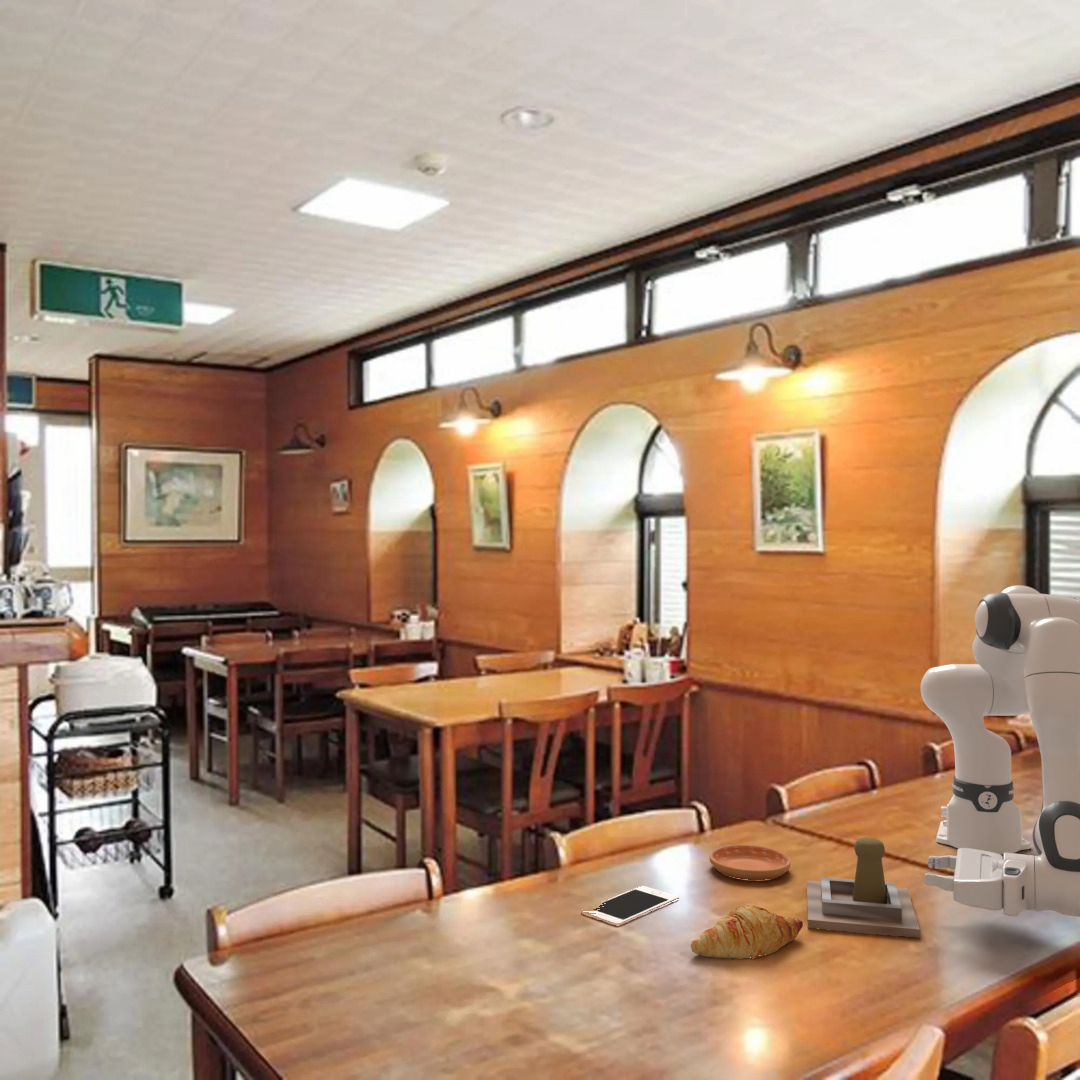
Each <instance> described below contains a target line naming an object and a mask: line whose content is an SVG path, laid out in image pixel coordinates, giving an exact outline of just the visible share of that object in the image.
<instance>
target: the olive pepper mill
mask: <svg viewBox="0 0 1080 1080" xmlns="http://www.w3.org/2000/svg"><path fill="white" fill-rule="evenodd" d="M853 847H854V852H855V855H856V856H857V861H856V866H855V867H856V869H855V874H854V875H855V876H854V880H855V882H854V890H853V901H855V902H866V903H879V904H887V903H888V900H887V893H886V886H885V882H886V880H885V873H884V866H883V858H884V856H885V854H886V852H885V851H886V847H885V844H884V842H883V841H882V840H880V839H878V838H875V837H865V836H864V837H860V838H858V839H857V840H855V842H854V846H853Z"/></svg>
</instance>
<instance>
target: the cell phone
mask: <svg viewBox="0 0 1080 1080" xmlns="http://www.w3.org/2000/svg"><path fill="white" fill-rule="evenodd" d="M640 886H641V887H640ZM640 886H637V887H638V888H637V887H635V888H632V889H633V890H632V889H630V890H631V891H630V890H627V891H625V892H623V893H621V894H618V895H617V894H616V895H615V896H613V897H611V898H608V901H605V900H604V901H605V902H603V901H602V902H603V903H602V904H603V905H600V906H599V907H600V908H596V909H592V910H597V909H600V910H598V911H583V912H589V913H596V914H591V915H594V916H597V917H599V918H601V919H604V920H607V921H610V922H612V923H615V924H619V923H622V922H625V921H627V920H629V919H632V918H634V917H636V916H639V915H641V914H643V913H646V912H648V911H651V910H653V909H655V908H658V907H660V906H662V905H665V904H667V903H669V902H672V901H674V900H676V899H679V900H680V897H679V896H678V895H676V894H672V893H670V892H669V893H668V892H665V891H663V890H660V889H655V888H653V887H649V886H646V885H640ZM604 903H606V904H604ZM602 906H604V907H602Z"/></svg>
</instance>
